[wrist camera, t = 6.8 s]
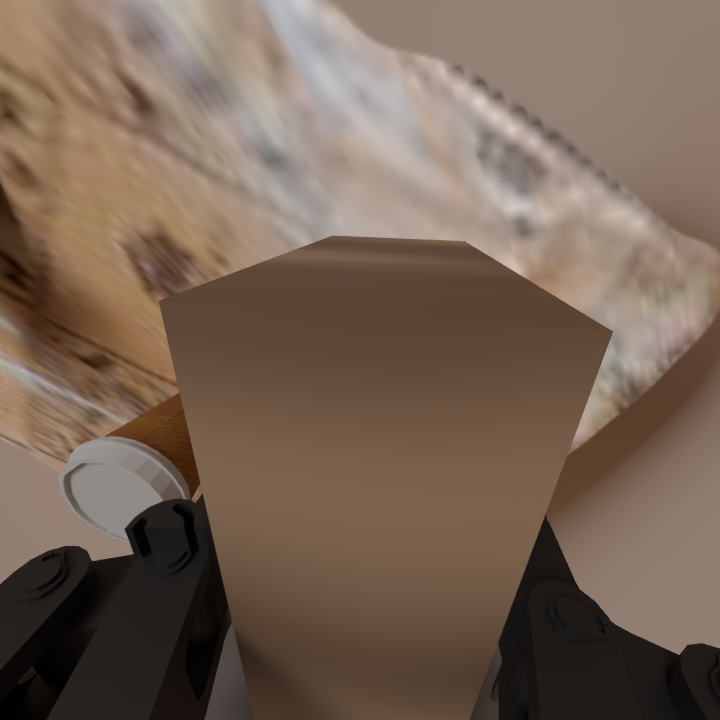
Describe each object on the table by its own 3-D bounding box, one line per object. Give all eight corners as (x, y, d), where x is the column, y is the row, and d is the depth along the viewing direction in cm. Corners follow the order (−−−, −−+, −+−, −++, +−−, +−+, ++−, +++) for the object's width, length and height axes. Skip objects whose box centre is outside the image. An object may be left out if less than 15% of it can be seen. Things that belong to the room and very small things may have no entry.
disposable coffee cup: (236, 370, 32) (148, 453, 21) (258, 448, 36) (193, 552, 25) (149, 372, 34) (27, 451, 23) (179, 447, 38) (87, 544, 27)
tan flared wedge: (474, 549, 15) (532, 858, 8) (283, 522, 16) (182, 776, 9) (553, 245, 10) (977, 355, 2) (255, 232, 11) (-67, 285, 3)
